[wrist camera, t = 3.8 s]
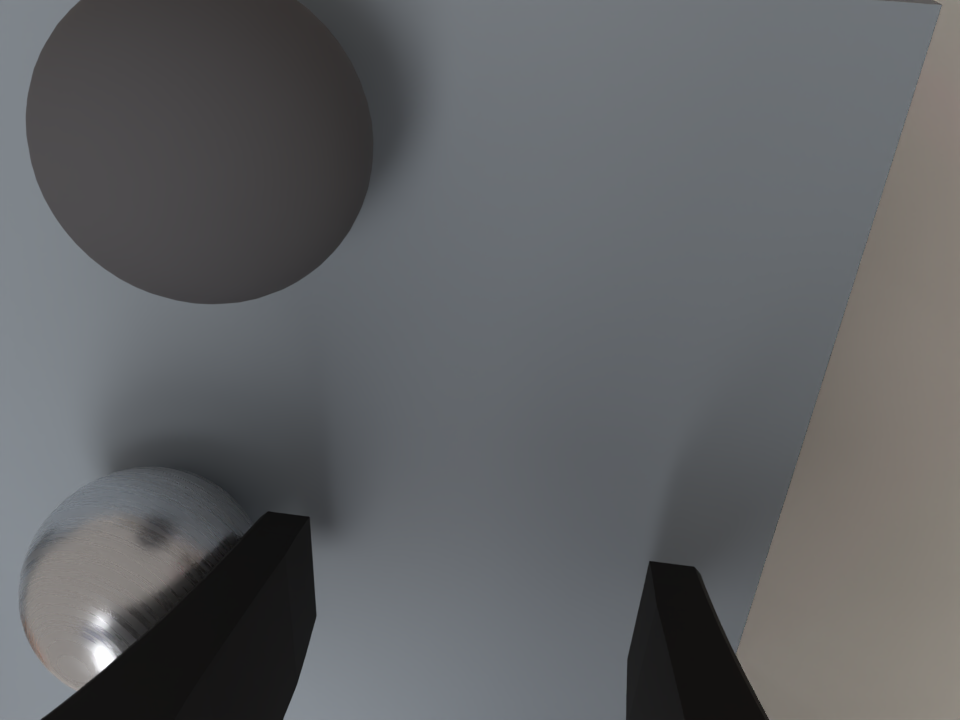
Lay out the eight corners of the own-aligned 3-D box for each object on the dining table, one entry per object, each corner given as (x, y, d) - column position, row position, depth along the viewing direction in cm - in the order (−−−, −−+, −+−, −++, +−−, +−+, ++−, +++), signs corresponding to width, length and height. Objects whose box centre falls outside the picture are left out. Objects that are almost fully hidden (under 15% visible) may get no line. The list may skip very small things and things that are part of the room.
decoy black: (402, 241, 10) (331, 384, 8) (151, 216, 11) (-2, 345, 8) (402, -45, 9) (312, 10, 6) (105, -67, 9) (-111, -24, 6)
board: (661, 751, 19) (673, 931, 16) (-249, 621, 21) (-401, 760, 18) (874, -31, 10) (989, 28, 7) (-701, -141, 12) (-1149, -132, 9)
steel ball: (307, 606, 14) (203, 782, 11) (131, 562, 14) (-7, 720, 12) (295, 447, 12) (171, 608, 10) (99, 405, 13) (-70, 547, 10)
